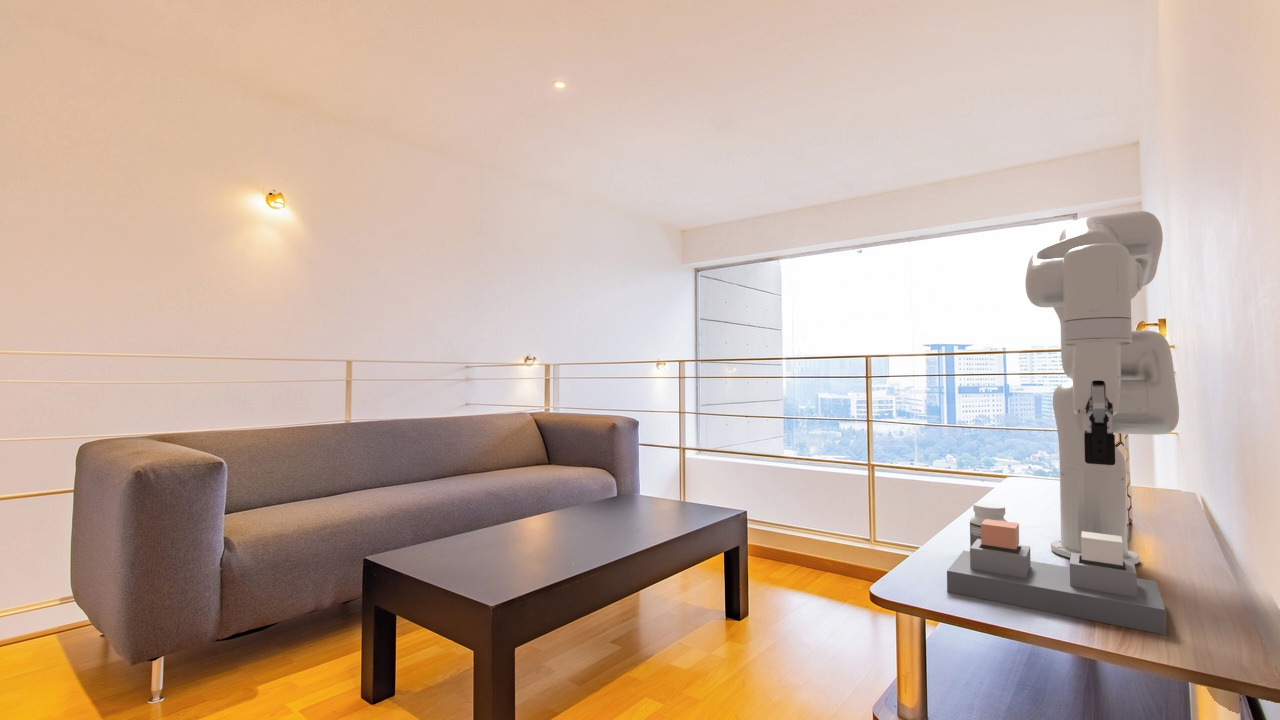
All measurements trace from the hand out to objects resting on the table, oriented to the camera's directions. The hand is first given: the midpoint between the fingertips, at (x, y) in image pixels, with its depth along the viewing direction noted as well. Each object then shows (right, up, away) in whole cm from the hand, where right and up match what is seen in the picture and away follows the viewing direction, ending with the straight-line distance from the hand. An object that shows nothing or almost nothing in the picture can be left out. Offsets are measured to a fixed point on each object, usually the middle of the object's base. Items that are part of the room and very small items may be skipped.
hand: (1099, 460), depth 82 cm
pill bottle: (-4, -21, +19) cm, 28 cm away
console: (-5, -20, +3) cm, 21 cm away
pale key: (0, -13, -1) cm, 13 cm away
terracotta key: (-10, -14, +7) cm, 18 cm away
